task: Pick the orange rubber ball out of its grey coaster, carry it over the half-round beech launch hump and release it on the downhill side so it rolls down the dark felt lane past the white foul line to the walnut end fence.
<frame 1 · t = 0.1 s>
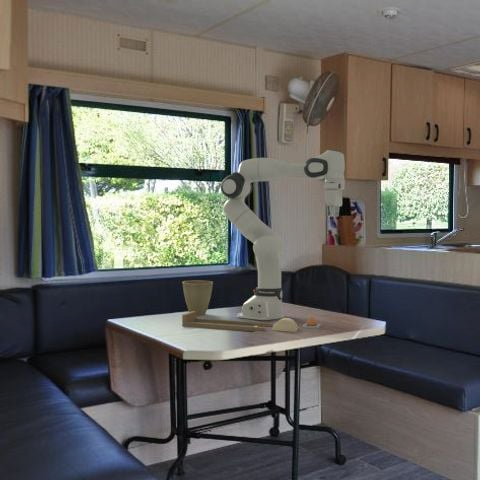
hand: (334, 216, 268), 48 cm above the table, fingers open, 8 cm apart
lane: (285, 330, 248), on the table
ball: (311, 326, 254), point 1 cm above the table, touching coaster
plant pot: (197, 315, 288), on the table
coaster: (311, 328, 254), on the table
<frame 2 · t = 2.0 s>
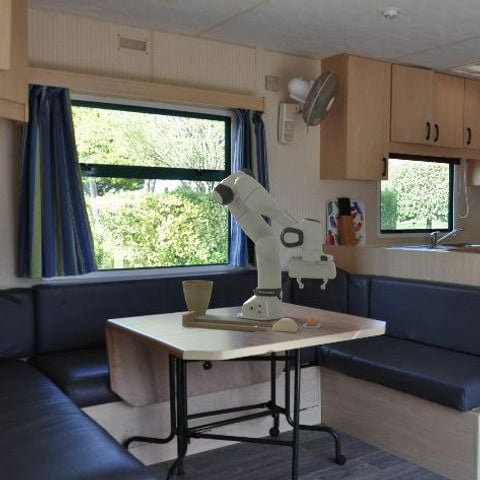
hand: (312, 288, 253), 17 cm above the table, fingers open, 8 cm apart
nothing on the table moved.
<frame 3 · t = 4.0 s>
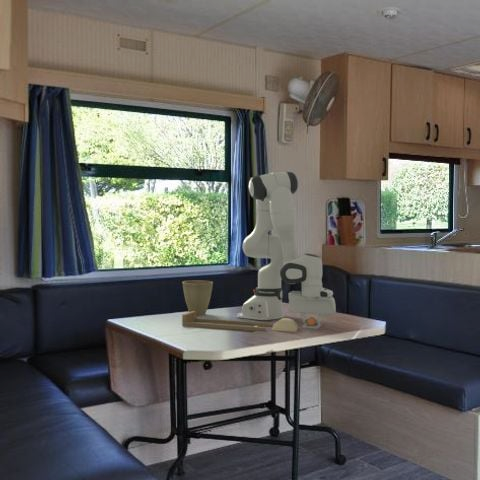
hand: (311, 323, 254), 2 cm above the table, fingers closed on ball, 4 cm apart
ball: (311, 326, 254), point 1 cm above the table, touching coaster, gripper
everything else where it was.
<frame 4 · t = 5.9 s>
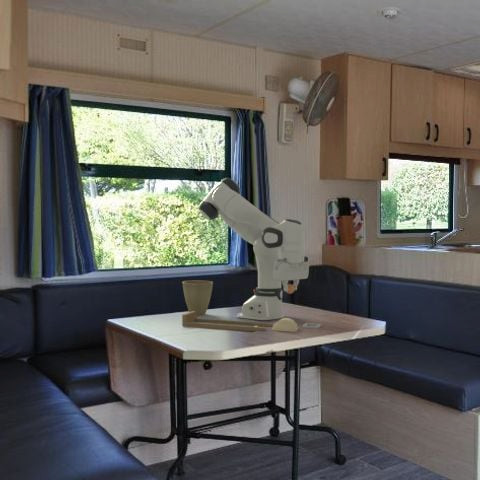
hand: (290, 290, 250), 17 cm above the table, fingers closed on ball, 4 cm apart
ball: (289, 293, 250), point 15 cm above the table, touching gripper
everything else where it was.
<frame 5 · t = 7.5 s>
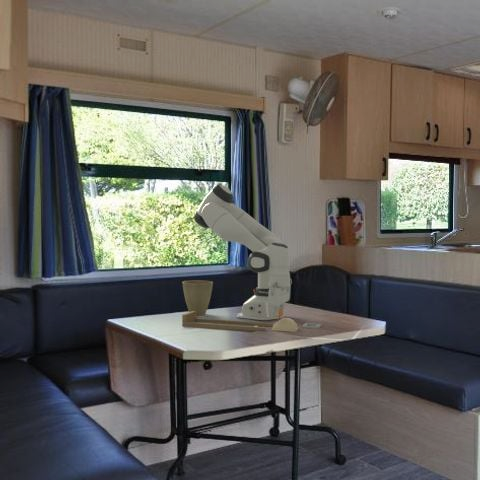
hand: (279, 314, 248), 7 cm above the table, fingers closed on ball, 4 cm apart
ball: (278, 317, 248), point 5 cm above the table, touching gripper
everything else where it was.
when the fingers open (7 cm above the table, at t = 7.7 s): ball drops 3 cm and tips over, resting on lane.
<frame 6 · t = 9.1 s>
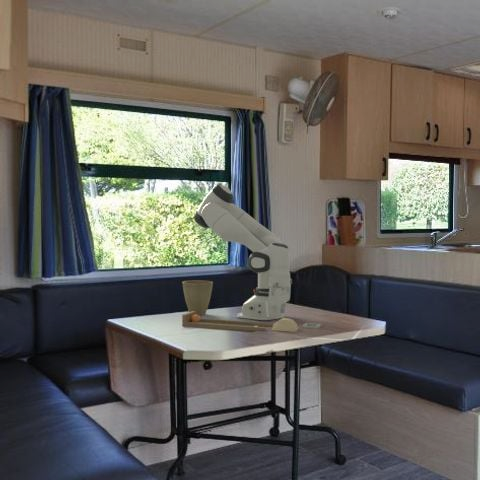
hand: (279, 314, 248), 7 cm above the table, fingers open, 8 cm apart
ball: (199, 320, 262), point 2 cm above the table, tilted 80°, touching lane
everything else where it was.
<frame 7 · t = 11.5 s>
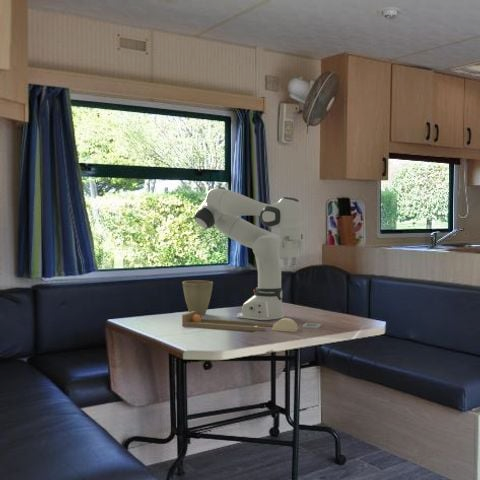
hand: (290, 268, 249), 26 cm above the table, fingers open, 8 cm apart
ball: (200, 321, 262), point 2 cm above the table, tilted 64°, touching lane
everything else where it was.
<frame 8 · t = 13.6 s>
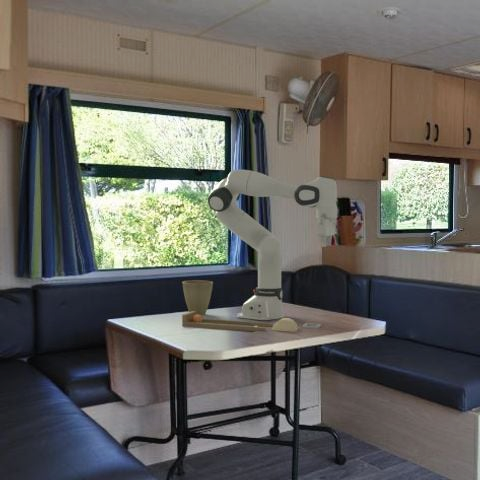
hand: (326, 246, 255), 35 cm above the table, fingers open, 8 cm apart
ball: (200, 322, 261), point 1 cm above the table, tilted 50°, touching lane
everything else where it was.
at the end: ball inside the target area on the lane (8.8 cm from its centre), point 1.1 cm above the lane's base; the gripper is holding nothing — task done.
